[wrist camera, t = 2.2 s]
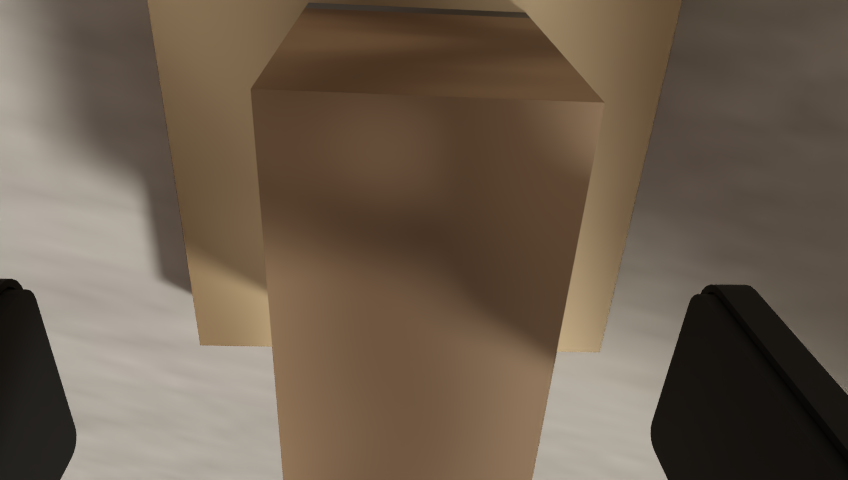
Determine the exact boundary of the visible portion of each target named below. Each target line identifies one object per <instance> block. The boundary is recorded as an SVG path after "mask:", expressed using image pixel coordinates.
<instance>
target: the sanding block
mask: <svg viewBox="0 0 848 480" xmlns="http://www.w3.org/2000/svg"><path fill="white" fill-rule="evenodd" d="M251 101H252V113H253V125H254V137H255V148H256V160H257V172H258V184H259V196H260V208H261V220H262V232H263V244H264V256H265V267H266V279H267V291H268V303H269V315H270V327H271V339H272V351H273V363H274V375H275V386H276V398H277V410H278V422H279V434H280V446H281V458H282V470H283V480H532V477H533V472H534V467H535V461H536V456H537V451H538V446H539V441H540V436H541V430H542V425H543V420H544V415H545V410H546V405H547V399H548V394H549V389H550V384H551V379H552V373H553V368H554V363H555V358H556V353H557V348H558V342H559V337H560V332H561V327H562V322H563V317H564V311H565V306H566V301H567V296H568V291H569V286H570V280H571V275H572V270H573V265H574V260H575V254H576V249H577V244H578V239H579V234H580V229H581V223H582V218H583V213H584V208H585V203H586V198H587V192H588V187H589V182H590V177H591V172H592V166H593V161H594V156H595V151H596V146H597V141H598V135H599V130H600V125H601V120H602V115H603V110H604V104H605V102H604V101H603V100H602V99H601V98H600V97H599V95H598V94H597V93H596V92H595V91H594V90H593V89H592V88H591V86H590V85H589V84H588V83H587V82H586V81H585V80H584V78H583V77H582V76H581V75H580V74H579V73H578V72H577V70H576V69H575V68H574V67H573V66H572V65H571V64H570V62H569V61H568V60H567V59H566V58H565V57H564V56H563V54H562V53H561V52H560V51H559V50H558V49H557V48H556V46H555V45H554V44H553V43H552V42H551V41H550V40H549V39H548V37H547V36H546V35H545V34H544V33H543V32H542V31H541V29H540V28H539V27H538V26H537V25H536V24H535V23H534V21H533V20H532V19H531V18H530V17H529V16H528V15H527V13H525V12H504V11H482V10H460V9H438V8H416V7H395V6H373V5H351V4H329V3H308V4H307V5H306V7H305V8H304V10H303V11H302V13H301V14H300V16H299V17H298V19H297V20H296V22H295V23H294V25H293V26H292V28H291V29H290V31H289V32H288V34H287V35H286V37H285V38H284V40H283V41H282V43H281V44H280V46H279V47H278V49H277V50H276V52H275V53H274V55H273V56H272V58H271V59H270V61H269V62H268V64H267V65H266V67H265V68H264V70H263V71H262V73H261V74H260V76H259V77H258V79H257V80H256V82H255V83H254V85H253V86H252V88H251Z"/></svg>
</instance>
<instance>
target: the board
mask: <svg viewBox="0 0 848 480" xmlns="http://www.w3.org/2000/svg"><path fill="white" fill-rule="evenodd" d="M147 1H148V8H149V15H150V21H151V28H152V34H153V41H154V47H155V54H156V60H157V67H158V73H159V80H160V86H161V93H162V99H163V106H164V112H165V119H166V125H167V132H168V138H169V145H170V151H171V158H172V164H173V171H174V177H175V184H176V190H177V197H178V203H179V210H180V216H181V223H182V229H183V236H184V242H185V249H186V255H187V262H188V268H189V275H190V281H191V288H192V294H193V301H194V308H195V314H196V321H197V327H198V334H199V340H200V345H215V346H272V339H271V327H270V315H269V303H268V291H267V279H266V267H265V256H264V244H263V232H262V220H261V208H260V196H259V184H258V172H257V160H256V148H255V137H254V125H253V113H252V101H251V88H252V86H253V85H254V83H255V82H256V80H257V79H258V77H259V76H260V74H261V73H262V71H263V70H264V68H265V67H266V65H267V64H268V62H269V61H270V59H271V58H272V56H273V55H274V53H275V52H276V50H277V49H278V47H279V46H280V44H281V43H282V41H283V40H284V38H285V37H286V35H287V34H288V32H289V31H290V29H291V28H292V26H293V25H294V23H295V22H296V20H297V19H298V17H299V16H300V14H301V13H302V11H303V10H304V8H305V7H306V5H307V4H308V3H329V4H351V5H373V6H395V7H416V8H438V9H460V10H482V11H504V12H525V13H527V15H528V16H529V17H530V18H531V19H532V20H533V21H534V23H535V24H536V25H537V26H538V27H539V28H540V29H541V31H542V32H543V33H544V34H545V35H546V36H547V37H548V39H549V40H550V41H551V42H552V43H553V44H554V45H555V46H556V48H557V49H558V50H559V51H560V52H561V53H562V54H563V56H564V57H565V58H566V59H567V60H568V61H569V62H570V64H571V65H572V66H573V67H574V68H575V69H576V70H577V72H578V73H579V74H580V75H581V76H582V77H583V78H584V80H585V81H586V82H587V83H588V84H589V85H590V86H591V88H592V89H593V90H594V91H595V92H596V93H597V94H598V95H599V97H600V98H601V99H602V100H603V101H604V102H605V104H604V110H603V115H602V120H601V125H600V130H599V135H598V141H597V146H596V151H595V156H594V161H593V166H592V172H591V177H590V182H589V187H588V192H587V198H586V203H585V208H584V213H583V218H582V223H581V229H580V234H579V239H578V244H577V249H576V254H575V260H574V265H573V270H572V275H571V280H570V286H569V291H568V296H567V301H566V306H565V311H564V317H563V322H562V327H561V332H560V337H559V342H558V348H557V351H560V352H600V348H601V344H602V340H603V336H604V331H605V327H606V323H607V319H608V314H609V310H610V306H611V302H612V297H613V293H614V289H615V285H616V280H617V276H618V272H619V268H620V263H621V259H622V255H623V251H624V246H625V242H626V238H627V233H628V229H629V225H630V221H631V216H632V212H633V208H634V204H635V199H636V195H637V191H638V187H639V182H640V178H641V174H642V170H643V165H644V161H645V157H646V153H647V148H648V144H649V140H650V136H651V131H652V127H653V123H654V119H655V114H656V110H657V106H658V102H659V97H660V93H661V89H662V85H663V80H664V76H665V72H666V68H667V63H668V59H669V55H670V51H671V46H672V42H673V38H674V34H675V29H676V25H677V21H678V17H679V12H680V8H681V4H682V0H147Z"/></svg>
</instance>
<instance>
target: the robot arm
mask: <svg viewBox="0 0 848 480" xmlns="http://www.w3.org/2000/svg"><path fill="white" fill-rule="evenodd" d="M651 441H652V445H653V448H654V451H655V453H656V455H657V457H658V459H659V462H660V464H661V466H662V468H663V470H664V472H665V474H666V477H667V479H668V480H848V395H847V394H846V393H845V392H844V390H843V389H842V388H841V387H840V386H839V385H838V384H837V383H836V381H835V380H834V379H833V378H832V377H831V376H830V375H829V373H828V372H827V371H826V370H825V369H824V368H823V367H822V365H821V364H820V363H819V362H818V361H817V360H816V359H815V357H814V356H813V355H812V354H811V353H810V352H809V351H808V349H807V348H806V347H805V346H804V345H803V344H802V343H801V341H800V340H799V339H798V338H797V337H796V336H795V335H794V334H793V332H792V331H791V330H790V329H789V328H788V327H787V326H786V324H785V323H784V322H783V321H782V320H781V319H780V318H779V316H778V315H777V314H776V313H775V312H774V311H773V310H772V308H771V307H770V306H769V305H768V304H767V303H766V302H765V300H764V299H763V298H762V297H761V296H760V295H759V294H758V292H757V291H756V290H755V289H753V288H752V287H751V286H748V285H708V286H706V287H705V288H704V289H703V290H702V293H701V294H697V295H694V296H693V297H692V298H691V300H690V303H689V306H688V309H687V312H686V315H685V318H684V322H683V325H682V328H681V331H680V334H679V338H678V341H677V344H676V347H675V350H674V354H673V357H672V360H671V363H670V366H669V370H668V373H667V376H666V379H665V382H664V386H663V389H662V392H661V395H660V398H659V402H658V405H657V408H656V411H655V414H654V418H653V421H652V425H651ZM75 446H76V429H75V425H74V422H73V419H72V416H71V412H70V409H69V406H68V402H67V399H66V396H65V393H64V389H63V386H62V383H61V379H60V376H59V373H58V370H57V366H56V363H55V360H54V356H53V353H52V350H51V347H50V343H49V340H48V337H47V333H46V330H45V327H44V324H43V320H42V317H41V314H40V310H39V307H38V304H37V301H36V298H35V296H34V294H33V293H32V292H31V291H30V290H26V289H23V288H22V286H21V285H20V284H19V283H18V281H16V280H13V279H0V480H60V479H61V477H62V475H63V473H64V471H65V470H66V468H67V466H68V464H69V462H70V460H71V458H72V455H73V453H74V450H75Z"/></svg>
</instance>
